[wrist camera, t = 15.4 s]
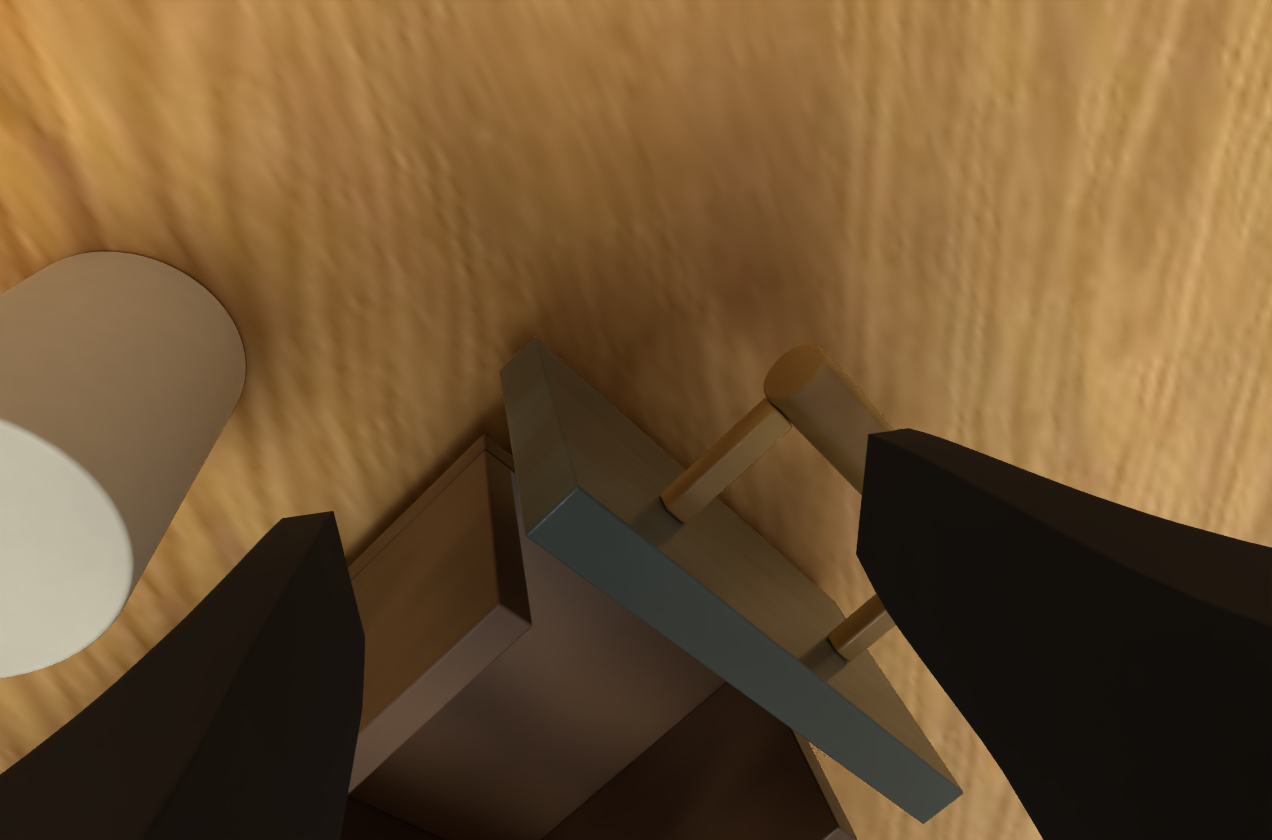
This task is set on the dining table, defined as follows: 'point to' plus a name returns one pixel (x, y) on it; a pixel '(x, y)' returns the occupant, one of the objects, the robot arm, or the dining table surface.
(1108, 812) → the robot arm
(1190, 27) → the dining table surface
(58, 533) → the candle
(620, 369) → the dining table surface
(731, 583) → the drawer
